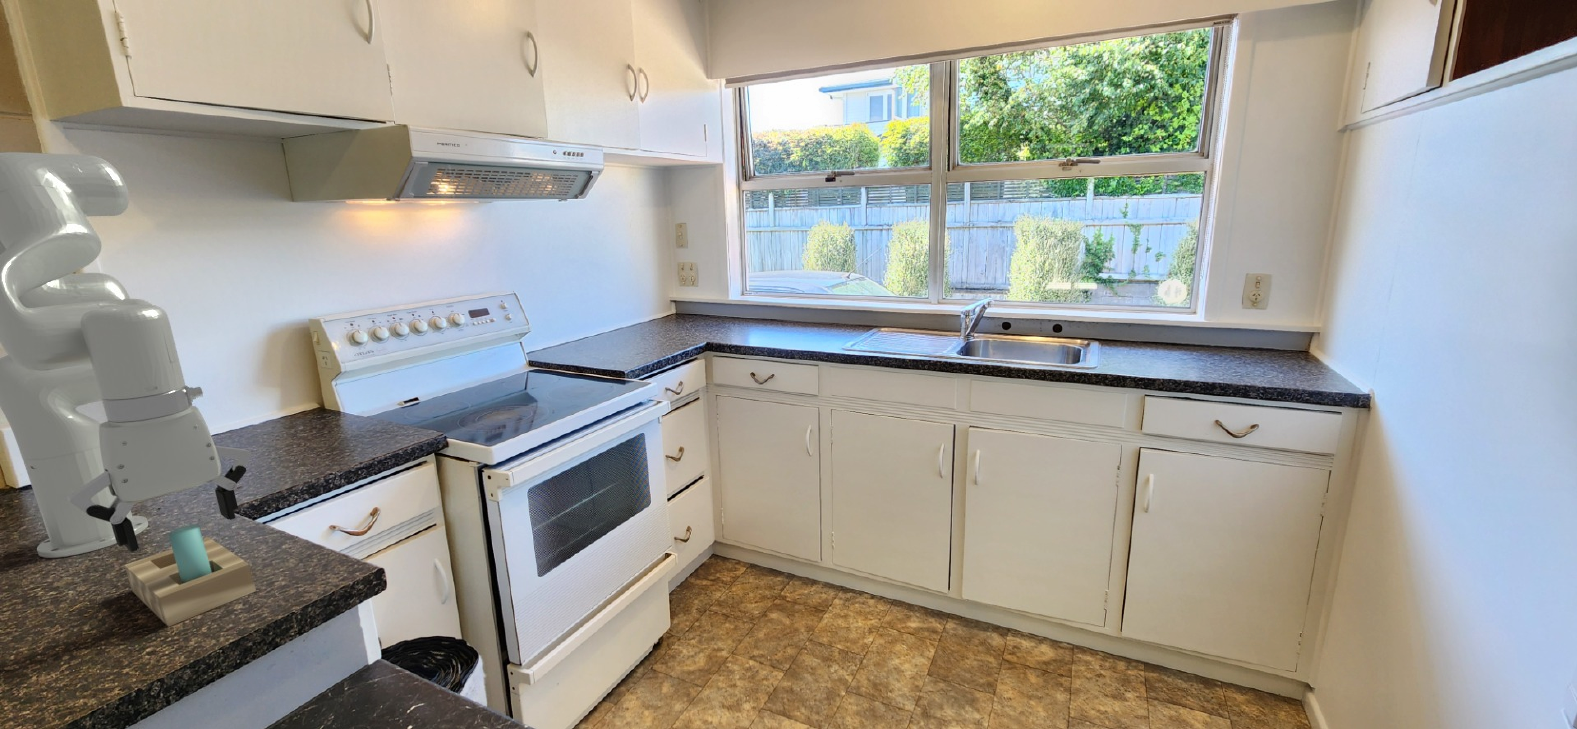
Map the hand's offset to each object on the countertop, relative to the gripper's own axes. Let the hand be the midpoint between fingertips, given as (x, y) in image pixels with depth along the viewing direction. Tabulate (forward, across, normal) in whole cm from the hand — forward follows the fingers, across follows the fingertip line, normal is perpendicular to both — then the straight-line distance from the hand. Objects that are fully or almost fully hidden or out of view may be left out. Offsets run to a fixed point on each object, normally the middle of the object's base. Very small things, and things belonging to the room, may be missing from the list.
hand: (182, 531), depth 85 cm
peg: (+10, 0, +1) cm, 10 cm away
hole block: (+10, 0, -3) cm, 10 cm away
